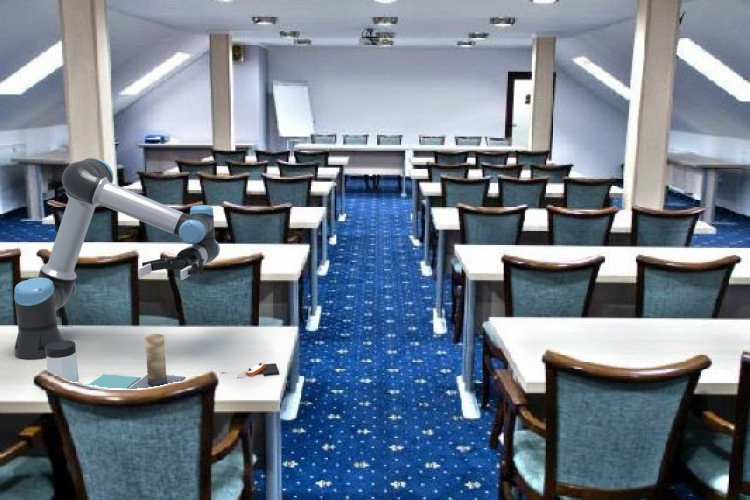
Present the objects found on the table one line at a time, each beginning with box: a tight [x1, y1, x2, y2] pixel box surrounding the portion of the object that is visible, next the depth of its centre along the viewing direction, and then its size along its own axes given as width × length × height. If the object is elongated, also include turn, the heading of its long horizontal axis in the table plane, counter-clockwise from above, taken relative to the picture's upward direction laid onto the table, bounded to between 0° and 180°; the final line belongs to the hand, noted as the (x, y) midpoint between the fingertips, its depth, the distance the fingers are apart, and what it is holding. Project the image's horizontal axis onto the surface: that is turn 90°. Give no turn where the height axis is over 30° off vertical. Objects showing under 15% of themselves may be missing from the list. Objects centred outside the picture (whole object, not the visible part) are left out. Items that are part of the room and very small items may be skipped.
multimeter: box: [221, 361, 280, 379], centre depth 228 cm, size 18×12×3 cm, turn 100°
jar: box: [45, 339, 79, 383], centre depth 221 cm, size 9×8×12 cm
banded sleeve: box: [144, 333, 167, 386], centre depth 220 cm, size 5×5×14 cm
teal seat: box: [87, 373, 141, 389], centre depth 222 cm, size 12×12×1 cm
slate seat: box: [128, 374, 186, 389], centre depth 222 cm, size 12×12×1 cm
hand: (160, 274), depth 227 cm, fingers open, 13 cm apart
